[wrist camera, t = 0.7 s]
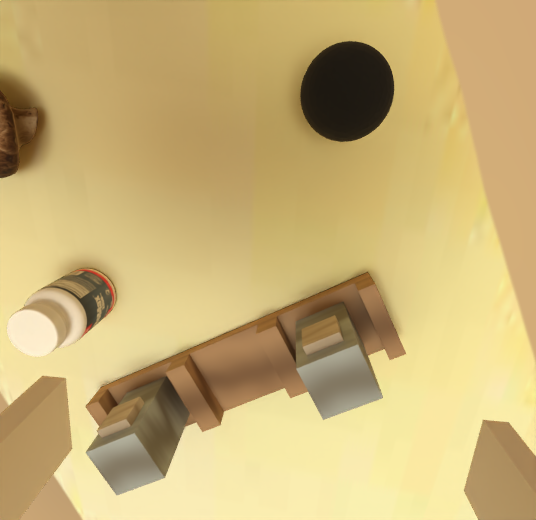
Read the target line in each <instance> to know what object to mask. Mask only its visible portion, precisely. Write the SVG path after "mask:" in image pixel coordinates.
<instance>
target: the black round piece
mask: <svg viewBox="0 0 536 520" xmlns="http://www.w3.org/2000/svg"><path fill="white" fill-rule="evenodd" d="M393 96H394V80H393V75H392V71H391V69H390V66H389V64H388V62H387V61H386V59H385V58H384V57H383V55H382V54H381V53H380V52H379V51H377V50H376V49H375V48H373V47H371V46H369V45H367V44H364V43H360V42H353V41H348V42H341V43H337V44H334V45H332V46H330V47H328V48H326V49H325V50H323V51H322V52H321V53H320V54H319V55H318V56H317V57H316V58H315V59H314V60H313V61H312V63H311V64H310V66H309V67H308V69H307V71H306V73H305V75H304V78H303V81H302V86H301V94H300V97H301V106H302V110H303V113H304V115H305V118H306V120H307V121H308V123H309V124H310V126H311V127H312V128H313V129H314V130H315V131H316V132H317V133H319V134H320V135H322V136H323V137H325V138H327V139H330V140H334V141H340V142H344V141H353V140H357V139H360V138H362V137H364V136H366V135H368V134H369V133H371V132H372V131H374V130H375V129H376V128H377V127H378V126H379V125H380V124H381V123H382V121H383V120H384V119H385V117H386V116H387V114H388V112H389V110H390V107H391V105H392V101H393Z"/></svg>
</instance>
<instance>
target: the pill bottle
mask: <svg viewBox="0 0 536 520" xmlns="http://www.w3.org/2000/svg"><path fill="white" fill-rule="evenodd" d="M115 301H116V293H115V289H114V287H113V284H112V283H111V281H110V280H109V279H108V278H107V277H106V276H105V275H104V274H102V273H101V272H99V271H96V270H93V269H79V270H76V271H74V272H71V273H70V274H68V275H66V276H64V277H62V278H60V279H58V280H56V281H54V282H53V283H51V284H49V285H47V286H45V287H43V288H42V289H40V290H38V291H37V292H35V293H34V294H32V295H31V296H30V297H29V298H28V299H27V301H26V303H25V305H24V307H23V308H22V309H20V310H19V311H17V312H15V313H14V314H13V315H12V316H11V317H10V319H9V321H8V324H7V333H8V337H9V339H10V341H11V342H12V344H13V345H14V346H15V347H16V348H17V349H18V350H19V351H21V352H22V353H24V354H27V355H30V356H34V357H39V356H45V355H47V354H49V353H51V352H52V351H54V350H55V349H56V348H60V347H66V346H69V345H71V344H73V343H75V342H76V341H78V340H79V339H80V338H81V337H83V336H84V335H85V334H86V333H87V332H88V331H89V330H90V329H92V328H93V327H94V326H95V325H96V324H97V323H98V322H100V321H101V320H102V319H103V318H104V317H105V316H107V315H108V314H109V313H110V312H111V310H112V309H113V307H114V305H115Z"/></svg>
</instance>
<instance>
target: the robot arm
mask: <svg viewBox="0 0 536 520" xmlns="http://www.w3.org/2000/svg"><path fill="white" fill-rule="evenodd" d="M71 449H72V442H71V431H70V420H69V409H68V398H67V387H66V378H59V377H49V376H42V377H41V378H40V379H38V380H37V381H36V382H35V383H34V384H33V385H32V386H31V387H30V388H28V389H27V390H26V391H25V392H24V393H23V394H22V395H21V396H20V397H18V398H17V399H16V400H15V401H14V402H13V403H12V404H11V405H10V406H8V407H7V408H6V409H5V410H4V411H3V412H2V413H1V414H0V520H19V519H20V518H21V517H22V515H23V514H24V513H25V512H26V510H27V509H28V507H29V506H30V505H31V503H32V502H33V501H34V499H35V498H36V497H37V495H38V494H39V493H40V491H41V490H42V489H43V487H44V486H45V485H46V483H47V481H48V480H49V479H50V478H51V476H52V475H53V474H54V472H55V471H56V470H57V468H58V467H59V466H60V464H61V463H62V462H63V460H64V459H65V458H66V456H67V455H68V454H69V452H70V451H71ZM464 492H465V494H466V496H467V498H468V500H469V502H470V504H471V506H472V508H473V510H474V512H475V514H476V516H477V518H478V520H536V456H535V455H534V454H533V452H532V451H531V450H530V449H529V447H528V446H527V445H526V444H525V442H524V441H523V440H522V439H521V437H520V436H519V435H518V434H517V432H516V431H515V430H514V429H513V427H512V426H511V425H510V423H509V422H499V421H489V420H483V422H482V426H481V430H480V433H479V437H478V441H477V444H476V448H475V452H474V455H473V459H472V463H471V466H470V470H469V474H468V477H467V481H466V485H465V488H464Z"/></svg>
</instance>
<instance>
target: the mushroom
mask: <svg viewBox="0 0 536 520" xmlns="http://www.w3.org/2000/svg"><path fill="white" fill-rule="evenodd" d="M37 123H38V112H37V109H36V108H29V109H17V108H13V107H12V106H10V105H9V103H8V101H7V98H6V97H5V96H4V94H3V93H2V92H1V91H0V178H4V177H8V176H10V175H13V174H15V173H16V171H17V170H18V166H19V149H20V147H21V146H22V145H23V144H27V143H29V142H30V141H31V140H32V139H33V137H34V135H35V133H36V128H37Z"/></svg>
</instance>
